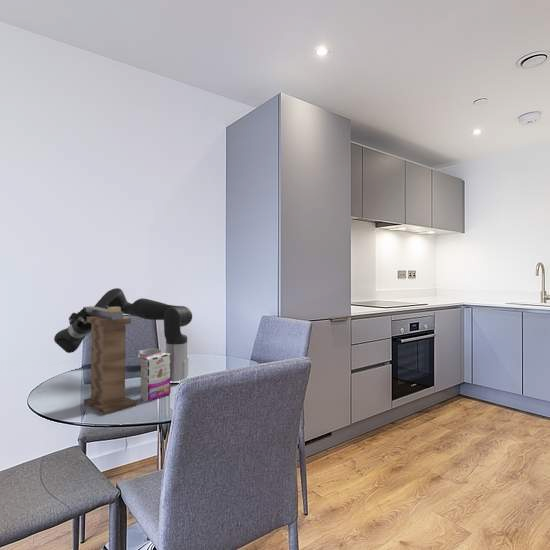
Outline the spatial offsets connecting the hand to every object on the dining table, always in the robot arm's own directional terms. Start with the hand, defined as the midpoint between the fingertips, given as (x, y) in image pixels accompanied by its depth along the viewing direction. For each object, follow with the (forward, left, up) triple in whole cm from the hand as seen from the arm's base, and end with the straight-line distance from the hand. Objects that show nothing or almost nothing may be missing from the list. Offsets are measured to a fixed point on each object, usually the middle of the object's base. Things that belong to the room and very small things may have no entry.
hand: (97, 309), depth 147 cm
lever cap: (-3, +3, -2) cm, 5 cm away
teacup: (-3, -46, -34) cm, 58 cm away
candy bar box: (-22, -2, -34) cm, 41 cm away
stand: (-8, +7, -34) cm, 36 cm away
